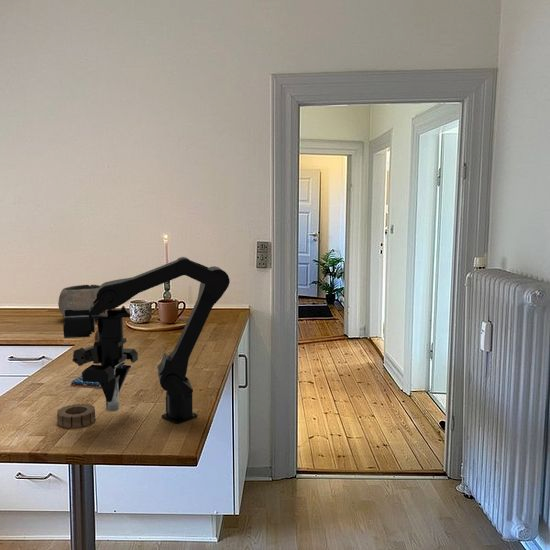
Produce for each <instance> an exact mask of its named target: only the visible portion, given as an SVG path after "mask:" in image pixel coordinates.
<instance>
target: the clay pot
mask: <svg viewBox="0 0 550 550" xmlns="http://www.w3.org/2000/svg"><path fill="white" fill-rule="evenodd" d="M100 286H101V285H99V284H79V285H72V286H71V285H70V286H67V287H64V288H63V289H61V292H60V294H59V297H58V305H57V306H58V310H59V312H60V314H61V315H62V316H63V318H64V317H65V309H66V308H73V309H87V308H89V309H90V306H91V303H93V302H94V301H95V299H96V298H97V291H98V289H99V287H100ZM105 312H106V313H107V310H105ZM103 313H104V312H103ZM101 314H102V313H101Z"/></svg>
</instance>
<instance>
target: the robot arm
mask: <svg viewBox="0 0 550 550" xmlns="http://www.w3.org/2000/svg"><path fill="white" fill-rule="evenodd" d="M182 276H187V277H188V278H191V279H193V280H195V281H197V282H199V283H200V284H199V287H198V295H197V299H196V302H195V304H194V306H193V308H192V310H191V312H190V313H189V316H188V319H187V320H186V323H185V326H184V328H183V330H182V332H181V334H180V336H179V339H178V340H177V343H176V345H175V347H174V348H173V350H172V351H171V352H170V354H167V353H165V352H164V353H163V354H162V358H161V361H160V363H159V364H158V365H157V371H158V372H157V374H158V375H157V376H158V380H159V383H160V387H161V388H162V389H163V391H165V392H166V393H165V394H166V396H165V412H164V413H163V414H161V418H163V419H166V420H168V421H171V422H173V423H175V424H181V423H184V422H187V421H188V420H191V419H194V418H196V417H198V413H196V412H193V393H194V390H193V387H192V385H191V382H190V379H189V378H188V377H187V372H188V368H189V367H188V365H189V360H190V357H191V354H192V353H193V350H194V348H195V346H196V343H197V341H198V339H199V338H200V335H201V333H202V331H203V328H204V326H205V324H206V322H207V321H208V317H209V315H210V314H211V312H212V309H213V307H214V306H215V305H216V304H217V303H218V301H219V300H220V299H221V298H222V296H224V294H225V292H226V290H227V289H229V285H230V284H231V283H230V281H231V280H230V277H229V275H228V273H227V272H226V271H225V270H223V269H222V268H221V267H219V266H216V265H215V266H210V267H208V266H205V265H203V264H201V263H198V262H196V261H194V260H191V259H189V258H188V257H186V256H181V257H178V258H177V259H176V260H173V261H171V262H168V263H164V264H163V265H160V266H158V267H155V268H152V269H150V270H148V271H145V272H142V273H140V274H138V275H135V276H133V277H126V278H119V279H115V280H110V281H106V282H103V283H102V284H101V285H99V286H100V287H99V289H98V291H97V298H96V299H95V301H94V302H93V303H91V306H90V309H89V308H87V309H73V308H66V309H65V317H64V316H63V318H64V320H63V321H64V322H63V325H62V327H63V328H62V329H63V338H64V339H74V338H90V337H91V335H92V334H93V333H96V319H97V322H98V326H97V330H98V340H97V341H95V340H94V342H93V345H91V346H88V347H85V348H83V347H81V348H77V349H75V350H73V351H72V353H73V354H72V362H73V363H75V364H77V366H78V367H81V366H83V365H85V364H89V363H91V362H93V363H92V364H91V365H90V366H88V367H87V368H86V367H85V369H83V371H81V375H82V381H83V382H99V383H100V385H101V387H102V388H101V389H102V392H103V395H104V398H105V401H106V400H107V402H111V401H112V399H113V396H114V393H115V390H116V386H117V383H118V387H119V393H120V392H121V389H122V387H123V385H124V383H125V380H126V378H127V377H128V374H129V371H130V369H132V365H129V364H128V365H127V363H126V362H125V360H130V363H136V362H137V361H138V359H139V358H138V357H139V356H138V354H139V353H138V352H137V350H136V349H135V348H125V347H124V344H125V343H127V337H124V319H125V318H130V317H131V316H132V315H131V314H132V313H131V311H130V310H128V309H127V308H126V306H125V305H123V304H125V303H127V302H128V301H129V300H131V299H132V298H133V297H135V296H137V295H138V294H139V293H143V292H145V291H148V290H150V289H152V288H155V287H158V286H159V285H163V284H165V283H167V282H170V281H172V280H175V279H177V278H180V277H182ZM120 306H122V307H120ZM119 307H120V308H119ZM117 308H118V309H117ZM105 310H108V313H107V312H106V313H102V312H104V311H105ZM101 313H102V314H101Z"/></svg>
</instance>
